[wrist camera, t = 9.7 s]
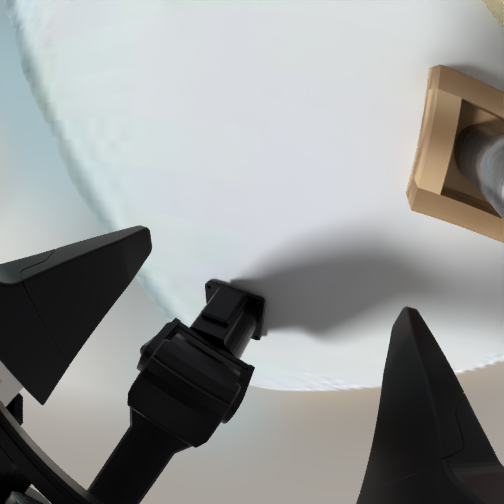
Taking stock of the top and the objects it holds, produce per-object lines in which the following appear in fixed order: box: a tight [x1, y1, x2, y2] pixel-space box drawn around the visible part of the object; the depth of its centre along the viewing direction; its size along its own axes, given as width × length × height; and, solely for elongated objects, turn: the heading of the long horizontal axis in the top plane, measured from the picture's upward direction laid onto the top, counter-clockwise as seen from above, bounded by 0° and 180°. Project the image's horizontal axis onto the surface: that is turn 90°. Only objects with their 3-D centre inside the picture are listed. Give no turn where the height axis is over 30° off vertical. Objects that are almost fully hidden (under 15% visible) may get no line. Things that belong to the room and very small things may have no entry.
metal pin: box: [454, 124, 504, 220], centre depth 10 cm, size 4×4×8 cm
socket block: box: [406, 65, 504, 243], centre depth 12 cm, size 9×9×3 cm
